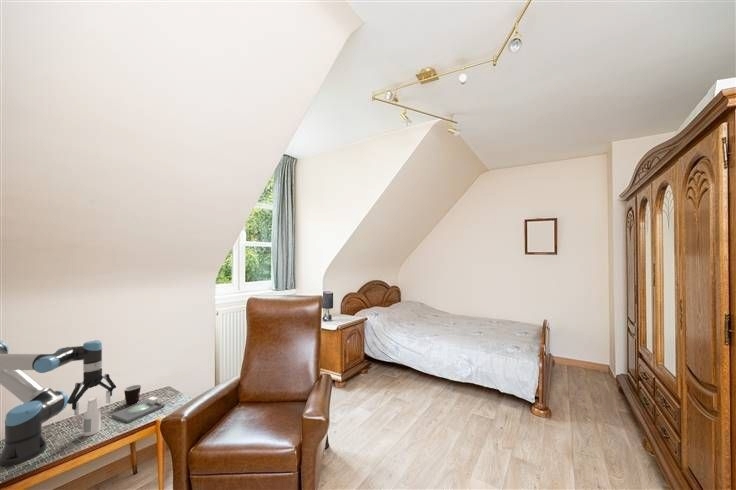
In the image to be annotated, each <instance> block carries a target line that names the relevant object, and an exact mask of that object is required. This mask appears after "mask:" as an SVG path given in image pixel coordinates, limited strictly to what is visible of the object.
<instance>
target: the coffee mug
mask: <svg viewBox="0 0 736 490" xmlns="http://www.w3.org/2000/svg"><path fill="white" fill-rule="evenodd" d="M141 388H142V385H141V384H134V385H133V384H132V385H131V386H127V387H126V388H124V389H123V391H124V397H125V405H126V406H127V405H130V406H133V405H132V404H134V405H135V403H137V402H138V401H139V402H140V394H141ZM139 402H138V403H139ZM138 403H137V404H138Z"/></svg>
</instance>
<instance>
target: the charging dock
mask: <svg viewBox="0 0 736 490" xmlns="http://www.w3.org/2000/svg"><path fill="white" fill-rule="evenodd" d="M164 407H165V404H164V403H161V402H159V397H156V396H151V397H148V398H147V399H145V400H143V401H139V402H138V403H137V404H134V405H130V406H129V407H126V408H123V409H121V410H119V411H116V412H113V413H111V415H110V416H112V417H111V418H113V417H114V419H116V418H117V419H116V420H118V419H119V420H118V421H122V422H124V423H127V424H129V423H131V422H134V421H136V420H138V419H140V418H142V416H143V417H145V416H147V415H149V414H151V413H153V412H156V411H158V410H159V409H162V408H164Z"/></svg>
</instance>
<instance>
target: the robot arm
mask: <svg viewBox="0 0 736 490" xmlns="http://www.w3.org/2000/svg"><path fill="white" fill-rule="evenodd" d="M102 342H103V341H102V340H97V339H95V340H89V341H87V342H84V343H83V345H79V346H78V345H77V346H66V347H60V348H58V349H57V350H56V351H55V352H54V353H9V345H8V344H7V343H6V342H5V341H3V340H0V385H1V386H3V388H5V389H6V390H7V391H8V392H10V393H11V395H13V396H15V397H16V398H17V399H19V400H20V402H22V404H19V405H17V406H15V407H13V408H12V409H10V410H9V411H8V412H7V413H6V414H5V420H4V446H3V448H2V450H1V453H0V465H9V466H13V465H12V464H14V465H17V464H21V463H23V462H26V461H29V460H30V459H33V458H35V457H37V456H39V455H41V454H42V453H43V452H45V451H46V449H47V447H48V446H47V441H46V439H45V437H44V435H43V433H42V431H43V427H42V424H44V423H45V422H47V421H49V420H51V419H52V418H53V417H55V416H58V414H60V413H61V412H62V411H64V410H65V409H66V408H67V406H68V405H71V410H73V412H74V414H73V415H74V416H77V417H78V416H79V413H80V411H79V410H80V409H79V408H80V407H79V406H80V403H79V402H78V401H79V400H80V399H81V398H82V397H83V395H84V394H85V393H86V391H88V389H91V388H93V387H97V386H101V387H102V388H104V389H106V391H105V403H106V404H111V397H112V396H113V391H114V389H116V388H117V386H116V384H115V383H114V381H113V380H112V379H111V378H110V374H109V373H104V375H103V368H102V367H103V359H102V357H103V344H102ZM76 361H77V362H78V361H83V363H82V364H83V368H82V369H83V370H82V371H83V374H82V377H83V378H82V380H83V381H81V382H76V383H75V386H74V388H73V391H72V392H71V394H70V395H69V396H68V394H67V393H66V392H65V391H62V390H53V389H52V388H51V387H47V388H46V387H45V388H44V387H43V386H42V385H41V384H40V383H39V382H37V381H36V380H35V379H34V378H32V377H31V376H29V374H28V373H26V372H25V371H35V372H37V373H38V374H45V373H48V372H51V371H53V370H57V369H58V368H59V367H61V366H62V367H63V366H64V365H66V364H68V363H72V362H76ZM103 379H104V380H105V381H106V382H107V383H108V385H107V384H105V383H104V382H103V381H102V380H103ZM82 385H83V386H82Z"/></svg>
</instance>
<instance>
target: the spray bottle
mask: <svg viewBox="0 0 736 490" xmlns="http://www.w3.org/2000/svg"><path fill="white" fill-rule="evenodd" d="M97 398H98V397H93V398H89V399H88V400H87V408H86V409H87V410H86V412H84V413H83V436H84V437H89V436H93V435H95V434H98V433H99V432H100V431H101V426H102V425H101V421H102V420H101V418H102V417H101V415H102V413H101V412H102V411H101V409H100V408H98V401H97Z"/></svg>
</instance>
